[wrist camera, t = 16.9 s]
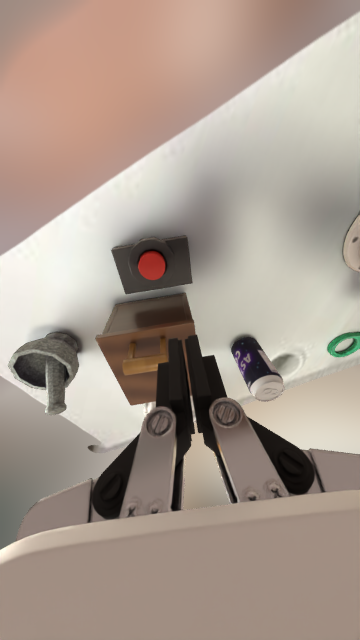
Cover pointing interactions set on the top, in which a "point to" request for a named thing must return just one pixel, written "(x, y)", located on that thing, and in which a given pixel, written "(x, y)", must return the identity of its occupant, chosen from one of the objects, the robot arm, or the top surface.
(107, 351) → the wooden box lid
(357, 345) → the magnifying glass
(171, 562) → the robot arm
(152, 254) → the button
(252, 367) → the beverage can
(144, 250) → the control block
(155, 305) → the brown open box
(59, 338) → the mortar and pestle
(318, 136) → the top surface
